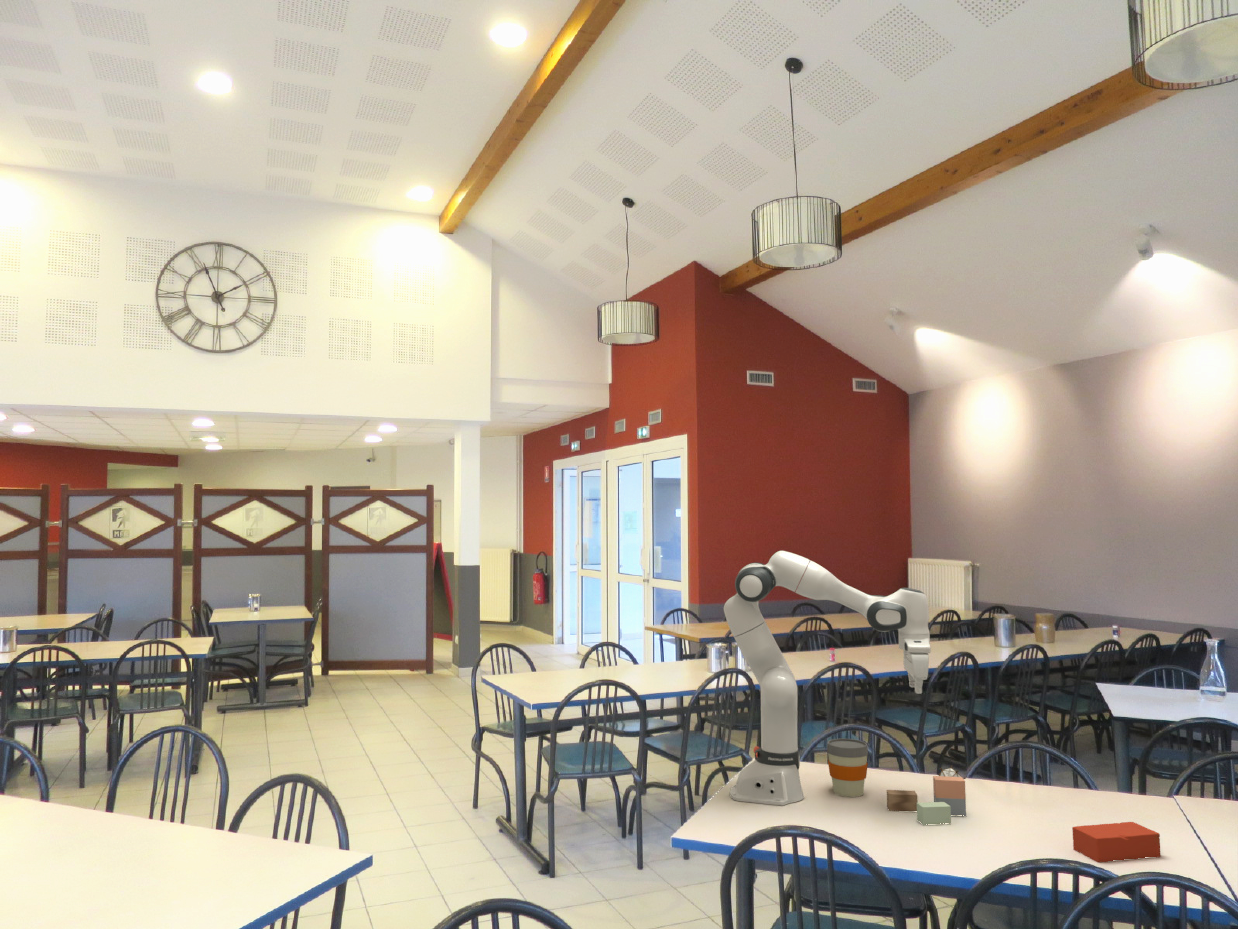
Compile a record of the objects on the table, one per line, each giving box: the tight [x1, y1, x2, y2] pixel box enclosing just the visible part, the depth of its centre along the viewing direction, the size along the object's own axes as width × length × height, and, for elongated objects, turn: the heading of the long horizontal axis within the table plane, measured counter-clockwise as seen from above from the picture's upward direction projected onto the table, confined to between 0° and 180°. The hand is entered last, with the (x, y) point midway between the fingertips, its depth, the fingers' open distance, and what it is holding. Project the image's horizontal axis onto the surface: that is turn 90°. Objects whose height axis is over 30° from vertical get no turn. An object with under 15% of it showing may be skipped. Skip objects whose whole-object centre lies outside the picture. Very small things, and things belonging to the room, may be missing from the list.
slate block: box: [933, 794, 967, 817], centre depth 248 cm, size 8×4×5 cm, turn 80°
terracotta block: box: [932, 775, 967, 800], centre depth 248 cm, size 8×4×5 cm, turn 80°
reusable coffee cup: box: [826, 738, 869, 798], centre depth 268 cm, size 13×13×15 cm
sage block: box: [916, 801, 952, 826], centre depth 241 cm, size 8×4×5 cm, turn 95°
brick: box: [1071, 821, 1161, 863], centre depth 218 cm, size 18×9×6 cm, turn 101°
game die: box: [937, 765, 967, 780], centre depth 266 cm, size 9×8×10 cm
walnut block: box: [886, 789, 919, 812], centre depth 252 cm, size 8×4×5 cm, turn 82°
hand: (915, 690), depth 255 cm, fingers open, 8 cm apart
